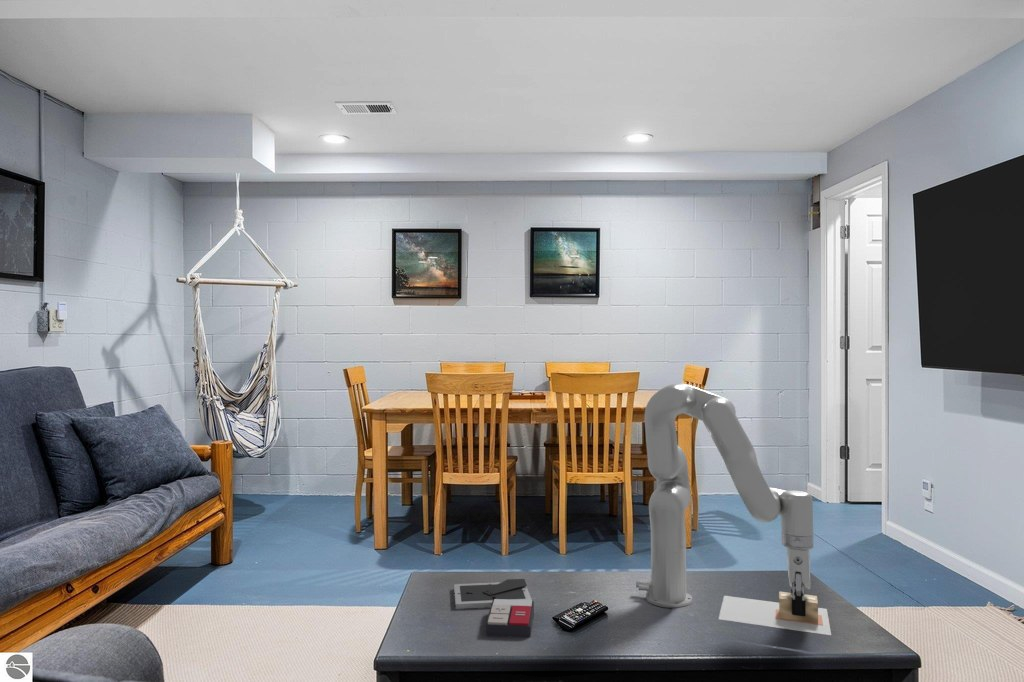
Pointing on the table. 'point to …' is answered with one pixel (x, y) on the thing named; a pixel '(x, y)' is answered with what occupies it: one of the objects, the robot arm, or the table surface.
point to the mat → (768, 615)
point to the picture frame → (489, 593)
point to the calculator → (510, 618)
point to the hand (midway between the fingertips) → (798, 609)
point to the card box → (786, 608)
